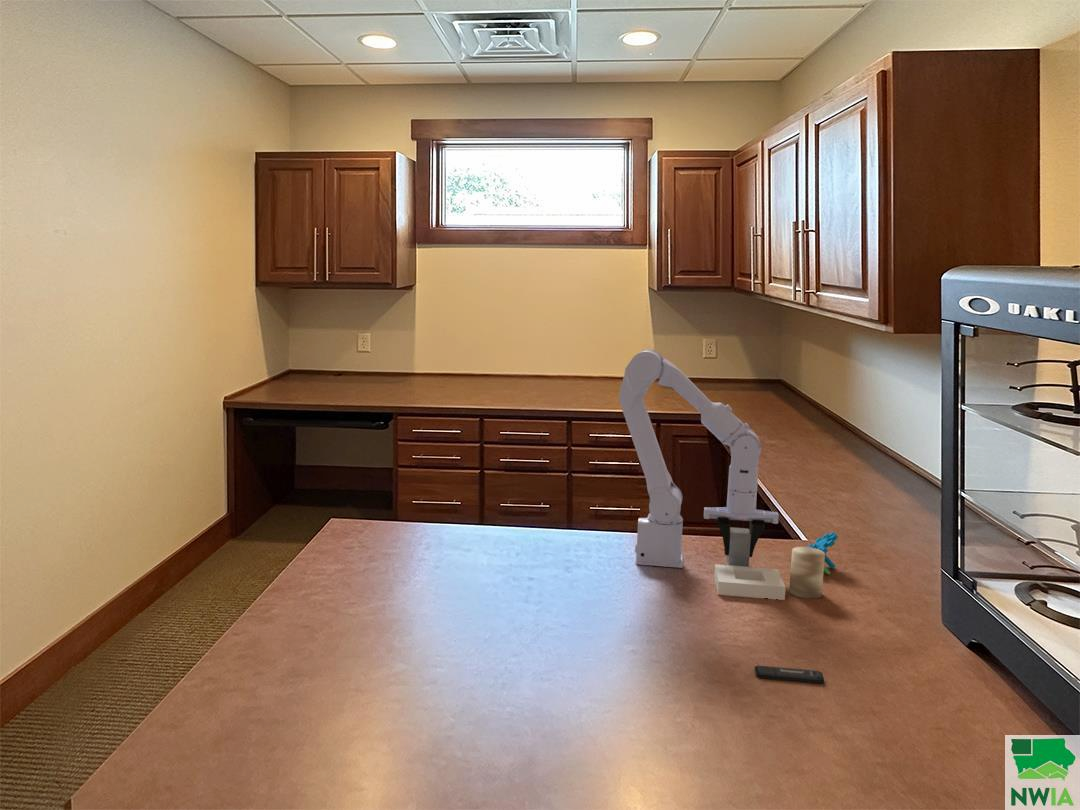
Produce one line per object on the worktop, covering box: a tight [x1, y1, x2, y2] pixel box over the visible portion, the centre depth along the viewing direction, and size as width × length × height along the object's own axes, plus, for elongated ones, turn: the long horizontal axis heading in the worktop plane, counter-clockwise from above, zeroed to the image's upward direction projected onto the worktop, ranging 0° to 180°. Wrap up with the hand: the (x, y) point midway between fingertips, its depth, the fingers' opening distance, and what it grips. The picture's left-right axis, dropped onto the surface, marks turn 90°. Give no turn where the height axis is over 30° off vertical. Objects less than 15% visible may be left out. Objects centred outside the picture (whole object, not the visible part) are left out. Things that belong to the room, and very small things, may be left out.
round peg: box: [788, 546, 825, 599], centre depth 147 cm, size 6×6×8 cm
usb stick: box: [754, 665, 825, 685], centre depth 113 cm, size 10×3×2 cm, turn 82°
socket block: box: [713, 563, 786, 601], centre depth 149 cm, size 12×10×2 cm
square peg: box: [726, 526, 751, 567], centre depth 159 cm, size 4×4×8 cm
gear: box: [807, 531, 839, 576], centre depth 162 cm, size 11×6×10 cm
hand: (738, 554), depth 159 cm, fingers closed on square peg, 4 cm apart
